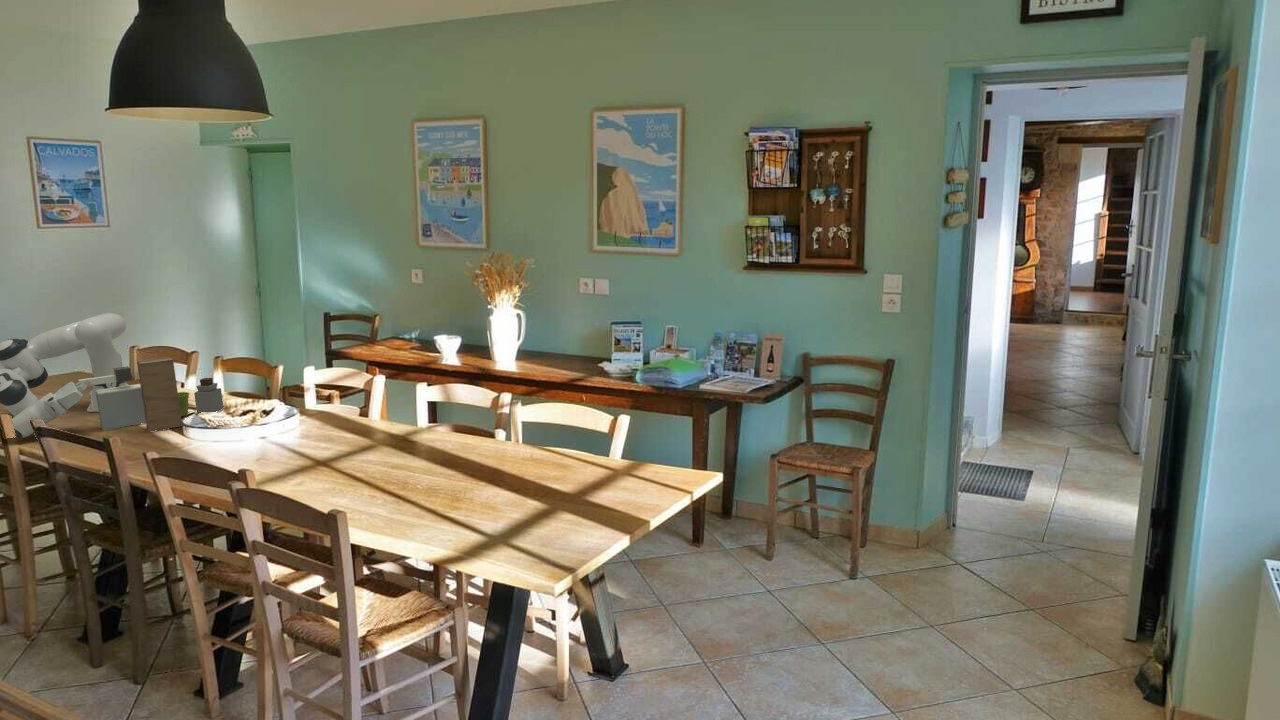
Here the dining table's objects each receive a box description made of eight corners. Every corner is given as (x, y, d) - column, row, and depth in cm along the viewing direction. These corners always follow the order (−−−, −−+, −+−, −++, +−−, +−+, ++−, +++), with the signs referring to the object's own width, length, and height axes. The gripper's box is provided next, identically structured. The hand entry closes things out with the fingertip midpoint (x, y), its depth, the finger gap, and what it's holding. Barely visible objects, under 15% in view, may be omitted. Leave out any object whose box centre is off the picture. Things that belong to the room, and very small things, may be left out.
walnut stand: (146, 428, 350) (136, 360, 345) (178, 422, 356) (169, 356, 351) (150, 432, 343) (140, 364, 338) (182, 426, 350) (173, 359, 345)
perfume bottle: (225, 422, 354) (219, 376, 351) (215, 427, 348) (209, 380, 344) (208, 422, 355) (202, 376, 351) (198, 427, 348) (192, 380, 345)
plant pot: (161, 419, 362) (158, 397, 361) (173, 413, 372) (170, 392, 370) (186, 418, 363) (183, 397, 361) (196, 412, 372) (193, 391, 370)
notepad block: (101, 426, 354) (95, 390, 351) (147, 419, 363) (142, 383, 360) (103, 430, 348) (97, 393, 346) (150, 422, 358) (145, 386, 355)
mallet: (80, 387, 343) (78, 374, 342) (79, 385, 347) (77, 372, 346) (131, 380, 353) (129, 368, 352) (129, 378, 357) (128, 366, 356)
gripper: (58, 405, 351) (91, 382, 356) (63, 415, 334) (98, 391, 340) (46, 392, 348) (80, 370, 353) (50, 402, 332) (86, 378, 337)
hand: (89, 380), depth 346 cm, fingers closed on mallet, 2 cm apart
